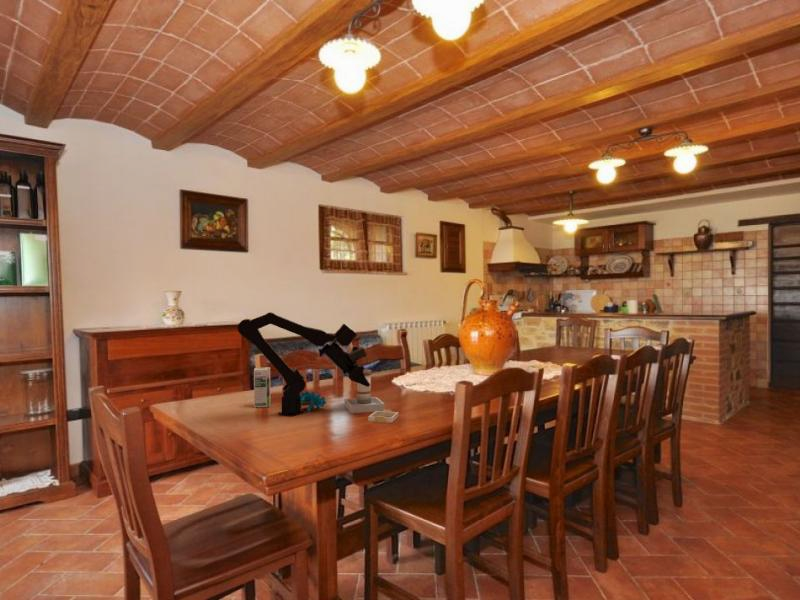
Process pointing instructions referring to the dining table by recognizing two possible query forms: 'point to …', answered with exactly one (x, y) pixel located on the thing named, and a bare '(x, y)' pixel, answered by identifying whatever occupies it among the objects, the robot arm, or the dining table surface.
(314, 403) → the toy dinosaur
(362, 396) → the fuse
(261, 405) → the syrup box
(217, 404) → the dining table surface
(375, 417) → the shallow beige tray
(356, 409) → the parts tray
